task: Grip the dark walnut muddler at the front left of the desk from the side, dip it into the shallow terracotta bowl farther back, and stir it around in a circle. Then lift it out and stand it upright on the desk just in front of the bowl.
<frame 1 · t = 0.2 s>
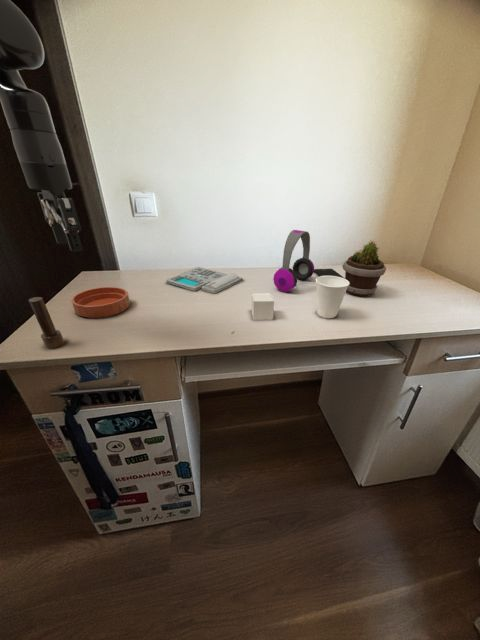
hand: (70, 247, 63), 22 cm above the table, tool pointing down, fingers open, 8 cm apart
cell phone: (330, 277, 119), on the table
white cube: (262, 315, 87), on the table
flowerpot: (358, 292, 107), on the table
headphones: (293, 285, 111), on the table
cup: (326, 315, 89), on the table
bowl: (103, 308, 88), on the table
office telephone: (204, 282, 110), on the table
muddler: (55, 344, 70), on the table
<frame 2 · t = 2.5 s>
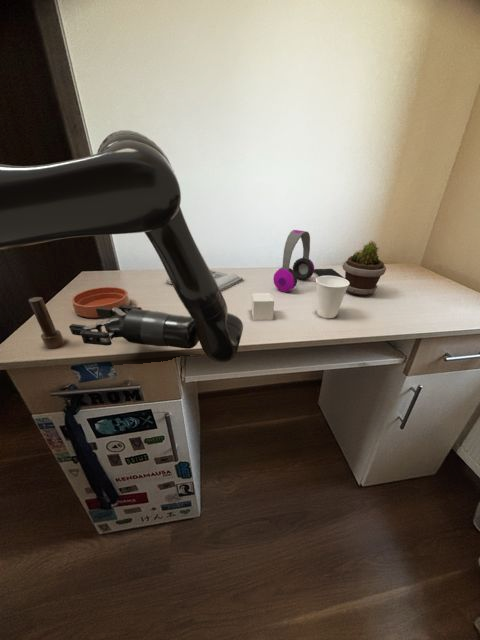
hand: (85, 320, 64), 8 cm above the table, tool horizontal, fingers open, 8 cm apart
nothing on the table moved.
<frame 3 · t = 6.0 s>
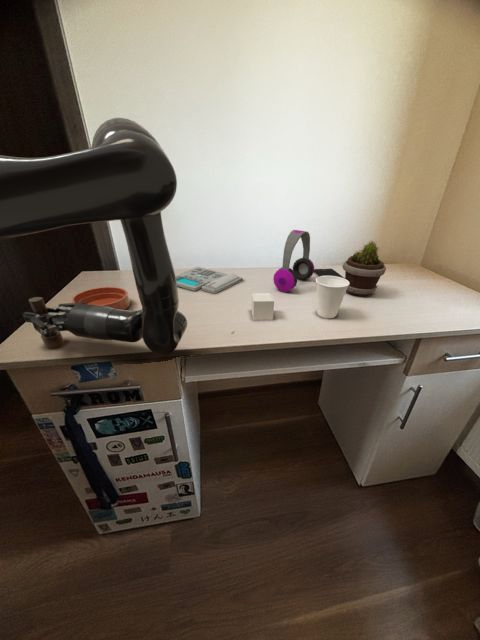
hand: (31, 313, 66), 8 cm above the table, tool horizontal, fingers closed on muddler, 2 cm apart
muddler: (55, 344, 70), on the table, touching gripper
everything else where it was.
when the fingers open (8 cm above the table, at t = 23.1 s): muddler stays where it is, on the table.
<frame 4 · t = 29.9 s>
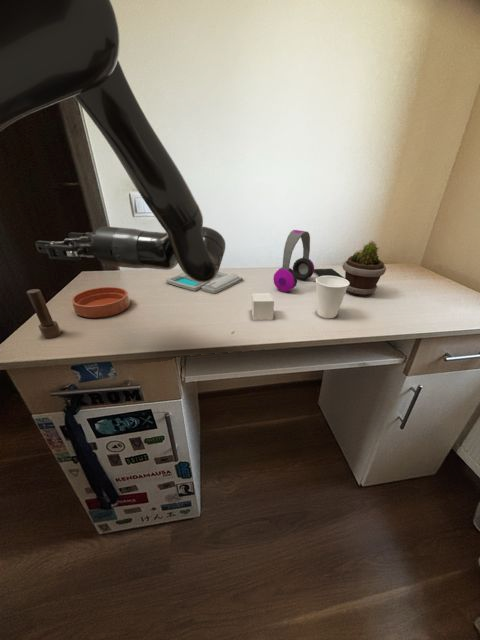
hand: (55, 241, 59), 24 cm above the table, tool horizontal, fingers open, 8 cm apart
muddler: (52, 334, 73), on the table
everything else where it was.
at the end: muddler inside the target area on the table beside the bowl (0.2 cm from its centre), on the table; muddler tilted 0°; the gripper is holding nothing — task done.
